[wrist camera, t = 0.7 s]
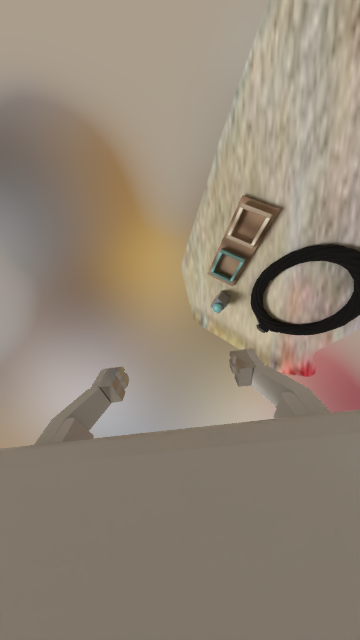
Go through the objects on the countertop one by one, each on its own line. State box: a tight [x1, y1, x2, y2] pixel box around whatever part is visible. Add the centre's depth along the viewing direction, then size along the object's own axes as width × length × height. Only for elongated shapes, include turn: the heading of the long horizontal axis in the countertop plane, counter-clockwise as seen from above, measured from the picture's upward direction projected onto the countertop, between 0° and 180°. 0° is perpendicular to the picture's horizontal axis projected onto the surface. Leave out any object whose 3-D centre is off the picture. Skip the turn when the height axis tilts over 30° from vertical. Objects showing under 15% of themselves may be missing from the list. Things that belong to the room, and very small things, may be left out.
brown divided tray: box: [208, 196, 280, 286], centre depth 41 cm, size 22×10×4 cm, turn 162°
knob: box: [210, 291, 230, 313], centre depth 49 cm, size 4×4×10 cm
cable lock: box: [251, 245, 360, 335], centre depth 41 cm, size 28×4×30 cm
